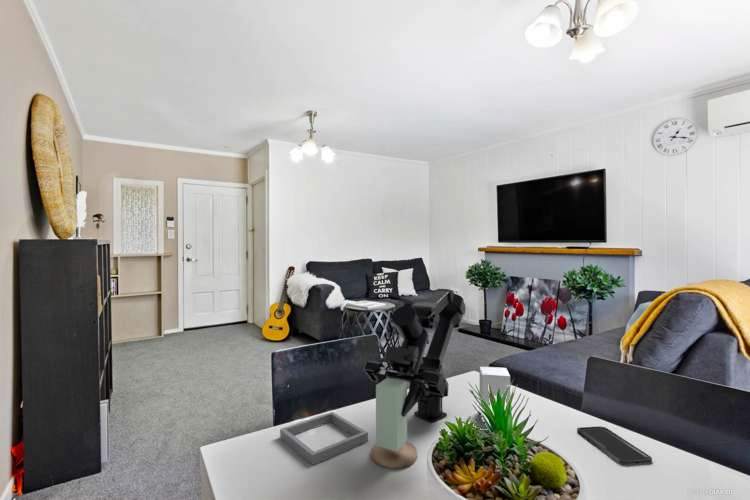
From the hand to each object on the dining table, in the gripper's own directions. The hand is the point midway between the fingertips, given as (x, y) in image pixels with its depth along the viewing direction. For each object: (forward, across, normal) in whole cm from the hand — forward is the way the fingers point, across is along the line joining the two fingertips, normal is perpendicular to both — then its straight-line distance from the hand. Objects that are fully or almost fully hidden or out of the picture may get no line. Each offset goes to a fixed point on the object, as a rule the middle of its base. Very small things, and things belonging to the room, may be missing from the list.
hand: (391, 413), depth 82 cm
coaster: (+6, 0, +8) cm, 10 cm away
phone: (-13, +42, +28) cm, 52 cm away
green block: (+5, 0, +5) cm, 7 cm away
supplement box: (-14, +15, +29) cm, 36 cm away
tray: (+8, -18, +6) cm, 20 cm away
